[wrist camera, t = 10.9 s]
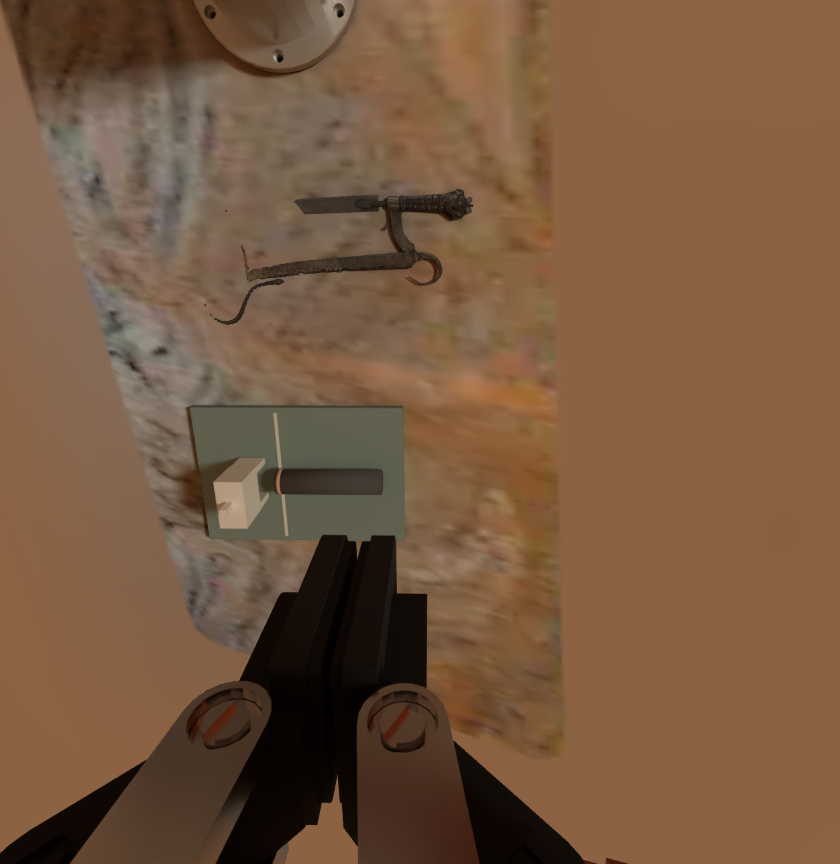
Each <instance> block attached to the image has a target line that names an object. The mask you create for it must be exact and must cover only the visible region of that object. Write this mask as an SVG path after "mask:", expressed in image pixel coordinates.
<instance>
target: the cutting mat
mask: <svg viewBox="0 0 840 864" xmlns="http://www.w3.org/2000/svg"><path fill="white" fill-rule="evenodd" d="M190 412H191V419H192V425H193V432H194V438H195V445H196V452H197V458H198V465H199V471H200V478H201V484H202V491H203V497H204V504H205V510H206V517H207V523H208V530H209V536H210V539H251V540H320V538H321V536H322V535H347V538H348V540H368V541H370V539H371V536H372V535H395V537H396V541H404V540H405V515H404V440H403V406H255V405H193V406H192V407H190ZM239 458H265V465H264V466H263V467H262V468H261V469H260V470H259V471H258V473H257V479H258V487H259V492H268V493H269V498H268V500H267V501H266V502H265V504H264V505H263V506H262V508H261V510H260V512H259V513H258V515H257V516H256V517H255V519H254V520H253V522H252V523H251V524H250V526H249V527H248V529H226V528H220V524H219V517H218V511H217V504H216V497H215V490H214V483H213V482H214V481H215V480H216V479H217V478H218V477H219V476H220V475H221V474H222V473H223V472H224V471H225V470H226V469H228V468H229V467H230V466H232V465H233V464H234V463H235V462H236V461H237V460H238V459H239ZM277 469H333V470H382V471H383V492H382V495H292V494H284V495H279V494H276V493H275V491H274V475H275V472H276V470H277Z"/></svg>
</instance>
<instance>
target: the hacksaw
mask: <svg viewBox="0 0 840 864" xmlns="http://www.w3.org/2000/svg"><path fill="white" fill-rule="evenodd" d="M471 202H472V198H471V197H468V198H467V201H465V196H464V191H463V190H460V189H456V191H455V192H453V193H448V194H447V193H446V194H438V195H435V194H433V195H426V196H424V195H422V196H406V197H405V196H402V195H401V196H400V197H397V196H389V197H387V201H378V195H372V196H371V195H369V196H368V195H367V196H366V195H365V196H363V195H362V196H352V197H351V196H350V197H348V196H347V197H346V196H345V197H341V196H340V197H332V198H331V197H330V198H329V197H327V198H326V197H325V198H315V199H314V198H310V199H309V198H308V199H306V198H305V199H304V198H303V199H298V200H297V199H296V200H295V201H294V203H296V204H297V205H298V206H299V208H300V209H301V210H302V212H303V213H304V214H319V213H339V212H360V211H379V206H387V208H388V211H390V218H391V220H390V221H389V223H388V224H387V226H386V227H384V228H383V230H384V231H385V229H386V228H387V227H388V225H389V224H390V222H391V227H392V234H393V237H394V239H395V241H396V243H397V245H398V247H399V248H400V249H401V251H402V252H398V253H389V254H376V255H364V256H354V257H343V258H331V259H322V260H321V259H319V260H309V261H301V262H292V263H286V264H280V265H275V266H272V267H264V268H262V269H253V270H251V271H249V272H247V270H248V269H249V267H247V264H246V263H247V259H246V254H245V250H244V249H243V247H242V246H241V249H242V252H243V256H244V259H245V267H246V268H248V269H246V276H247V280H248V282H249V281H252V280H255V279H257V278H259V279H266V278H276V277H286V276H293V275H296V274H297V275H299V273H304V274H308V273H321V272H336V271H338V272H342V271H344V270H349V271H354V270H357V271H360V270H377V269H400V268H411V267H412V266H413V265H414V263H415V262H417V261H419V260H422V259H429V260H433V261H434V262H435V263H436V264H437V267H438V270H439V273H438V276H437V278H436V279H435V280H434V281H432V282H429V283H420V282H418V281H416V280H414V279H413V278H411V277H409V276H408V277H409V278H410V279H412V280H413V281H415V282H416V283H418V284H421V285H430V284H433V283H435V282H436V281H437V280H438V279H439V278H440V277H441V274H442V266H441V263H440V261H439V259H438V258H437V257H436V256H434V255H432V254H430V253H422V252H420V253H417V252H416V250H415V249H414V244H413V243H411V242H410V241H409V240H408V239H407V236H406V237H405V235H404V232H403V228H402V221H401V211H402V212H404V211H418V212H433V213H435V212H439V213H443V214H445V215H446V216H447V217H449V218H450V219H452V220H457V218H462V217H463V216H464V210H465V209H466V212H467V213H468V214H469V213H471V211H472V210H471V208H468V207H473V205H471V204H469V203H471ZM225 211H226V212H227V210H225ZM283 282H284V281H283V280H281V279H276V280H274V281H273V280H272V281H267V282H264V283H260V284H259V285H258V284H256V285H255V286H254V287H252V288H251V290H250V291H249V292H248V295H246V298H245V300H244V302H243V304H242V307H241V310H240V312H239V314H238V315H237V317H236V318H234V319H233V320H230V321H221V320H217V318H215V319H214V320H217V321H218V322H220V323H223V324H227V325H229V324H234V323H236V322H238V320H240V319H241V317H242V315H243V313H244V309H245V306H246V304H247V301H248V299H249V296H250V294H251V293H252V292H253V289H256V288H257V287H261V286H265V285H274V284H275V285H280V284H282V283H283ZM250 292H251V293H250ZM205 306H206V304H205ZM210 316H212V315H211V314H210Z"/></svg>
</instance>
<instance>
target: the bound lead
mask: <svg viewBox="0 0 840 864" xmlns="http://www.w3.org/2000/svg"><path fill="white" fill-rule="evenodd" d="M274 491H275V493H276V494H279V495H284V494H292V495H382V492H383V471H382V470H333V469H277V470H276V472H275V475H274Z"/></svg>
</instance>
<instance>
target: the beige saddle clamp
mask: <svg viewBox="0 0 840 864" xmlns="http://www.w3.org/2000/svg"><path fill="white" fill-rule="evenodd" d="M264 465H265V458H239V459H238V460H237V461H236V462H235V463H234V464H233V465H232V466H230V467H229V468H228V469H226V470H225V471H224V472H223V473H222V474H221V475H220V476H219V477H218V478H217V479H216V480H215V481H214V482H213V483H214V490H215V497H216V504H217V511H218V517H219V524H220V528H226V529H248V527H249V526H250V524H251V523H252V522H253V520H254V519H255V517H256V516H257V515H258V513H259V512H260V510H261V508H262V506H263V505H264V504H265V502H266V501H267V500H268V498H269V493H268V492H259V487H258V479H257V473H258V471H259V470H260V469H261V468H262V467H263V466H264Z"/></svg>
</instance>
